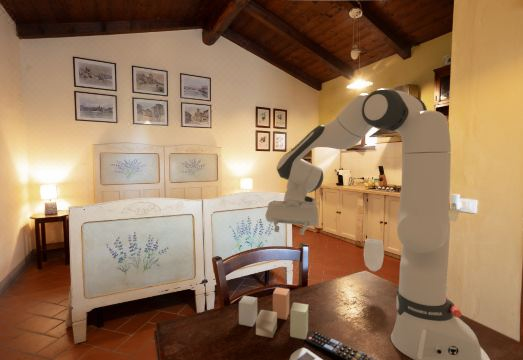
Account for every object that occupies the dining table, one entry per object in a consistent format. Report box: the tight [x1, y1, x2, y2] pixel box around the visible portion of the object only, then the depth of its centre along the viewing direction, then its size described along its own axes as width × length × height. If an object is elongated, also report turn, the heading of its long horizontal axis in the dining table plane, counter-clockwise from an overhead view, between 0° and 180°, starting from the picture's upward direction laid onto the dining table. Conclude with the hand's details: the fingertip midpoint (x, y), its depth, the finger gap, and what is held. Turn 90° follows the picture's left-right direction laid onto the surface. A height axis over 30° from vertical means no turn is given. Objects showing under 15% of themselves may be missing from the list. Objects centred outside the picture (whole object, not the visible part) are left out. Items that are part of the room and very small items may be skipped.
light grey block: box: [238, 295, 258, 327], centre depth 86 cm, size 4×4×7 cm
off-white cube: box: [255, 309, 278, 339], centre depth 81 cm, size 5×5×5 cm
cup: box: [363, 238, 385, 272], centre depth 104 cm, size 7×7×21 cm
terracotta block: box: [272, 287, 290, 320], centre depth 90 cm, size 4×4×8 cm
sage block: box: [289, 302, 309, 340], centre depth 80 cm, size 4×4×8 cm
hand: (288, 232), depth 100 cm, fingers open, 8 cm apart
